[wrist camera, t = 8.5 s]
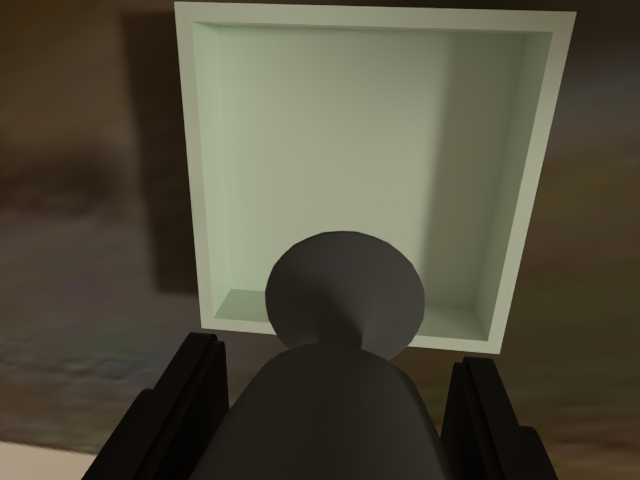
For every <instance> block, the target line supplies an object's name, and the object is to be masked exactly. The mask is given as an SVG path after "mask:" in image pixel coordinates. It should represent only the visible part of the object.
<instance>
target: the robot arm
mask: <svg viewBox="0 0 640 480" xmlns="http://www.w3.org/2000/svg"><path fill="white" fill-rule="evenodd" d="M228 411H229V400H228V384H227V368H226V352H225V344H224V342H223V341H218V339H217V336H216V335H215V334H206V333H195V332H191V333H189V335H188V336H187V337H186V339H185V340H184V342H183V343H182V345H181V347H180V348H179V350H178V351H177V353H176V354H175V356H174V357H173V359H172V361H171V362H170V364H169V365H168V367H167V368H166V370H165V371H164V373H163V375H162V376H161V378H160V379H159V381H158V382H157V384H156V385H155V387H154V389H148V388H146V389H144V390H143V391H141V393H140V394H139V395H138V396H137V398H136V399H135V401H134V402H133V404H132V405H131V406H130V408H129V409H128V411H127V412H126V414H125V415H124V417H123V418H122V420H121V421H120V423H119V424H118V426H117V427H116V429H115V430H114V432H113V433H112V435H111V436H110V438H109V439H108V441H107V442H106V444H105V445H104V446H103V448H102V449H101V451H100V452H99V454H98V455H97V457H96V458H95V460H94V461H93V463H92V464H91V466H90V467H89V469H88V470H87V472H86V473H85V475H84V476H83V478H82V479H81V480H188V479H189V477H190V476H191V474H192V472H193V470H194V469H195V467H196V465H197V464H198V462H199V460H200V458H201V457H202V455H203V453H204V451H205V450H206V448H207V446H208V445H209V443H210V441H211V439H212V438H213V436H214V434H215V432H216V431H217V429H218V427H219V426H220V424H221V422H222V420H223V419H224V417H225V415H226V414H227V413H228ZM440 440H441V442H442V444H443V446H444V448H445V451H446V454H447V457H448V459H449V462H450V465H451V468H452V471H453V474H454V477H455V480H558V478H557V476H556V473H555V471H554V469H553V466H552V464H551V462H550V459H549V457H548V455H547V453H546V450H545V448H544V446H543V443H542V441H541V439H540V437H539V435H538V433H537V431H536V430H535V429H534V428H533V427H528V426H519V424H518V421H517V419H516V416H515V414H514V411H513V408H512V406H511V403H510V401H509V398H508V396H507V393H506V391H505V388H504V386H503V383H502V381H501V378H500V375H499V373H498V370H497V368H496V365H495V363H494V361H493V360H492V359H490V358H478V357H467V356H466V357H464V359H463V362H462V363H458V362H455V363H454V366H453V371H452V376H451V382H450V387H449V393H448V398H447V404H446V409H445V415H444V421H443V426H442V432H441V437H440Z"/></svg>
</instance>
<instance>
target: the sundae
mask: <svg viewBox="0 0 640 480" xmlns="http://www.w3.org/2000/svg"><path fill="white" fill-rule="evenodd" d="M265 305H266V311H267V316H268V319H269V321H270V323H271V325H272V327H273V329H274V331H275V333H276V334H277V336H278V337H279V339H280V340H281V342H282V343H283V344H284V345H285V346H287V347H288V348H289V349H290V350H288V351H285V352H282V353H280V354H278V355H277V356H275V357H273V358H272V359H270V360H269V361H268V362H267V363H266V364H265V365H264V366H263V367H262V368H261V370H260V371H259V372H258V373H257V374H256V376H255V377H254V378H253V379H252V381H251V382H250V383H249V385H248V386H247V387H246V389H245V390H244V391H243V393H242V394H241V395H240V397H239V398H238V399H237V401H236V402H235V403H234V405H233V406H232V407H231V409H230V410H229V411H228V413H227V414H226V415H225V417H224V419H223V420H222V422H221V424H220V426H219V427H218V429H217V431H216V432H215V434H214V436H213V438H212V439H211V441H210V443H209V445H208V446H207V448H206V450H205V451H204V453H203V455H202V457H201V458H200V460H199V462H198V464H197V465H196V467H195V469H194V470H193V472H192V474H191V476H190V477H189V479H188V480H455V477H454V474H453V471H452V468H451V465H450V462H449V459H448V457H447V454H446V451H445V448H444V446H443V444H442V442H441V440H440V437H439V435H438V433H437V431H436V429H435V426H434V424H433V422H432V420H431V418H430V416H429V413H428V411H427V409H426V407H425V405H424V403H423V401H422V399H421V397H420V395H419V393H418V391H417V389H416V387H415V385H414V383H413V381H412V380H411V379H410V378H409V377H408V376H407V374H406V373H404V372H403V371H402V370H400V369H399V368H398V367H396V366H395V365H393V364H392V363H390V362H389V360H391V359H392V358H393V357H395V356H396V355H398V354H399V353H400V352H401V351H402V350H403V349H404V348H406V347H407V346H408V345H409V344H410V343H411V342H412V340H413V338H414V337H415V335H416V334H417V332H418V330H419V328H420V325H421V323H422V321H423V319H424V310H425V293H424V288H423V285H422V283H421V280H420V277H419V275H418V273H417V272H416V270H415V268H414V266H413V264H412V263H411V262H410V261H409V260H408V259H407V258H406V257H405V256H404V255H403V254H402V253H401V252H400V251H399V250H397V249H396V248H395V247H393V246H392V245H391V244H390V243H388V242H386V241H383V240H381V239H379V238H376V237H374V236H371V235H368V234H364V233H361V232H357V231H331V232H322V233H319V234H317V235H314V236H311V237H308V238H306V239H304V240H302V241H300V242H298V243H296V244H294V245H293V246H292V247H291V248H290V249H288V250H287V251H286V252H285V253H284V254H283V255H282V256H281V257H280V259H279V260H278V261H277V262H276V263H275V265H274V266H273V268H272V271H271V273H270V275H269V278H268V281H267V285H266V289H265Z"/></svg>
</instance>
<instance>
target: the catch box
mask: <svg viewBox="0 0 640 480" xmlns="http://www.w3.org/2000/svg"><path fill="white" fill-rule="evenodd" d="M174 7H175V19H176V31H177V42H178V54H179V66H180V78H181V90H182V101H183V113H184V125H185V137H186V149H187V160H188V172H189V184H190V196H191V207H192V219H193V231H194V243H195V255H196V266H197V278H198V290H199V302H200V314H201V325H202V328H208V329H220V330H231V331H242V332H254V333H265V334H276V333H275V331H274V329H273V327H272V325H271V323H270V321H269V319H268V316H267V311H266V305H265V289H266V285H267V281H268V278H269V275H270V273H271V271H272V268H273V266H274V265H275V263H276V262H277V261H278V260H279V259H280V257H281V256H282V255H283V254H284V253H285V252H286V251H287V250H288V249H290V248H291V247H292V246H293V245H294V244H296V243H298V242H300V241H302V240H304V239H306V238H308V237H311V236H314V235H317V234H319V233H322V232H331V231H357V232H361V233H364V234H368V235H371V236H374V237H376V238H379V239H381V240H383V241H386V242H388V243H390V244H391V245H392V246H393V247H395V248H396V249H397V250H399V251H400V252H401V253H402V254H403V255H404V256H405V257H406V258H407V259H408V260H409V261H410V262H411V263H412V264H413V266H414V268H415V270H416V272H417V273H418V275H419V277H420V280H421V283H422V285H423V288H424V293H425V310H424V319H423V321H422V323H421V325H420V328H419V330H418V332H417V334H416V335H415V337H414V338H413V340H412V342H411V343H410V344H409V345H408V346H414V347H425V348H437V349H448V350H460V351H471V352H483V353H494V354H499V353H500V349H501V345H502V340H503V336H504V331H505V327H506V322H507V318H508V314H509V309H510V305H511V300H512V296H513V292H514V287H515V283H516V278H517V274H518V269H519V265H520V261H521V256H522V252H523V247H524V243H525V238H526V234H527V230H528V225H529V221H530V216H531V212H532V207H533V203H534V199H535V194H536V190H537V185H538V181H539V177H540V172H541V168H542V163H543V159H544V154H545V150H546V146H547V141H548V137H549V132H550V128H551V123H552V119H553V115H554V110H555V106H556V101H557V97H558V93H559V88H560V84H561V79H562V75H563V70H564V66H565V62H566V57H567V53H568V48H569V44H570V39H571V35H572V31H573V26H574V22H575V17H576V13H577V12H564V11H525V10H485V9H445V8H406V7H366V6H327V5H287V4H248V3H208V2H174Z"/></svg>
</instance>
